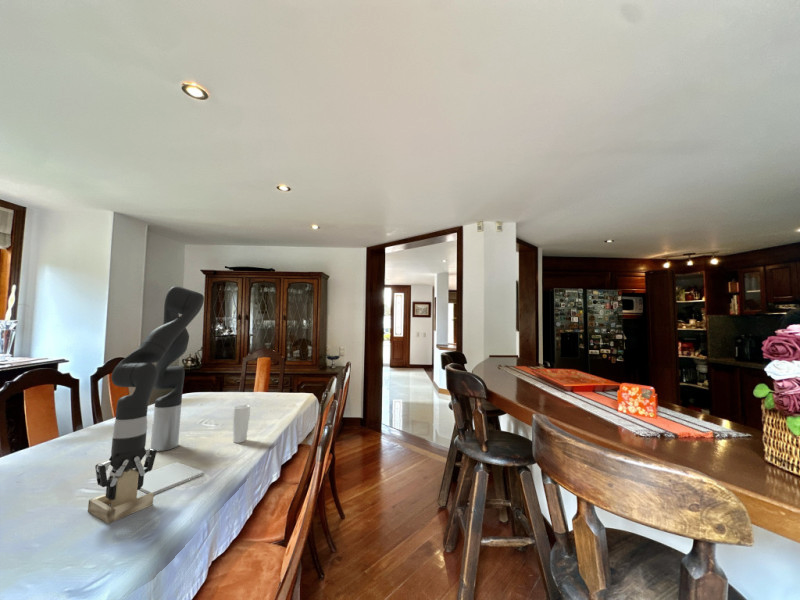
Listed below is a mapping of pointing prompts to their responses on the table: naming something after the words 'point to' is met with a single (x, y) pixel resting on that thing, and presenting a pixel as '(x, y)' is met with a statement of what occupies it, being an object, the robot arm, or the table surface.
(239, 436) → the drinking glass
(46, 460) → the table surface
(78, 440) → the table surface
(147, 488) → the plate
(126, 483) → the candle
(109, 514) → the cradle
